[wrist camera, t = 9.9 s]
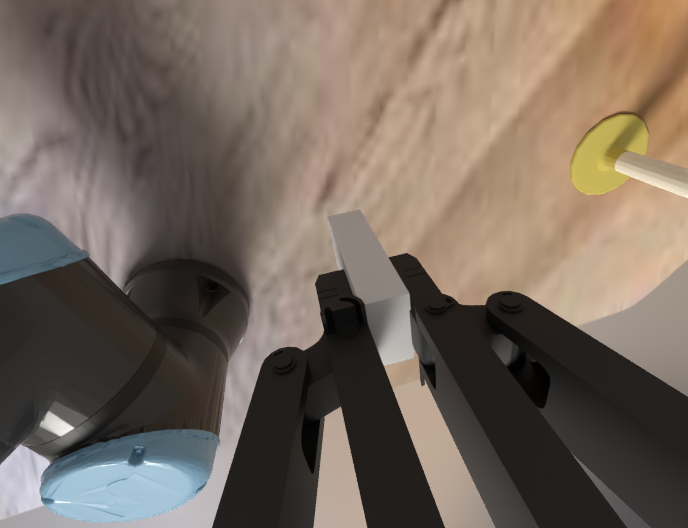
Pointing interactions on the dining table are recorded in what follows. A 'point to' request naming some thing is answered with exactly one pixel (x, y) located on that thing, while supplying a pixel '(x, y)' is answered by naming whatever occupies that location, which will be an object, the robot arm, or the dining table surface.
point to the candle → (621, 159)
